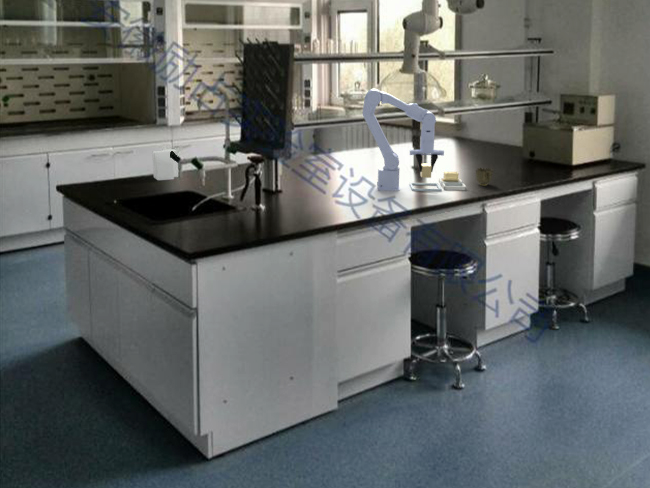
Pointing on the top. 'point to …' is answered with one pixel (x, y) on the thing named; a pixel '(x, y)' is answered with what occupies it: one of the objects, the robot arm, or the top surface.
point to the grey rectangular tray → (452, 185)
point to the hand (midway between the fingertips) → (425, 171)
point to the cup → (484, 175)
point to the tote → (425, 189)
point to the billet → (426, 171)
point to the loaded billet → (450, 177)
